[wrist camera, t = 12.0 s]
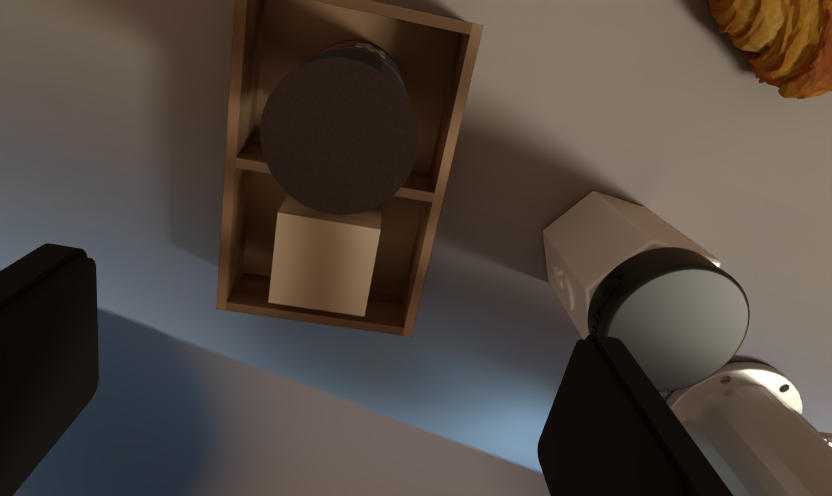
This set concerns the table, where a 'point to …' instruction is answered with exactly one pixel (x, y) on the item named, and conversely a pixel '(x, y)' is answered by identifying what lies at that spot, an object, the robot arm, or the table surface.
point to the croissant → (782, 41)
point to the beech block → (324, 258)
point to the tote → (400, 215)
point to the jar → (645, 289)
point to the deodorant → (341, 130)
